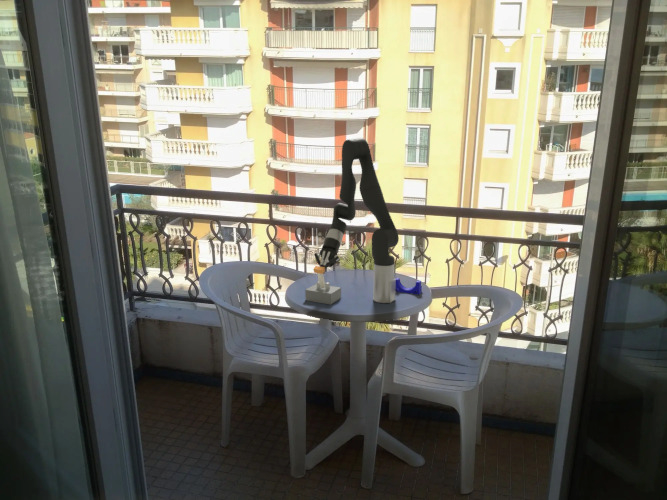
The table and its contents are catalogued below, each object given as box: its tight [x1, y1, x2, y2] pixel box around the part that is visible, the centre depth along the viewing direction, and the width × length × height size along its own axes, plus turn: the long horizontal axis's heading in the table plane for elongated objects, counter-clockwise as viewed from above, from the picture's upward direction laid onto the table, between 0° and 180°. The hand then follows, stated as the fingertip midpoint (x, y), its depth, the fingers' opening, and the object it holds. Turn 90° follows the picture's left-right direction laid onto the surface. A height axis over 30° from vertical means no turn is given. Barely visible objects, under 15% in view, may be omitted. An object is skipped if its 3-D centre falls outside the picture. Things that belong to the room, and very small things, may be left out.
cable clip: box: [394, 277, 423, 295], centre depth 280 cm, size 12×4×6 cm, turn 65°
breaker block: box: [304, 280, 342, 305], centre depth 269 cm, size 13×10×8 cm
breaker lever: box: [313, 265, 326, 288], centre depth 266 cm, size 4×2×10 cm, turn 63°
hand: (320, 273), depth 266 cm, fingers closed
